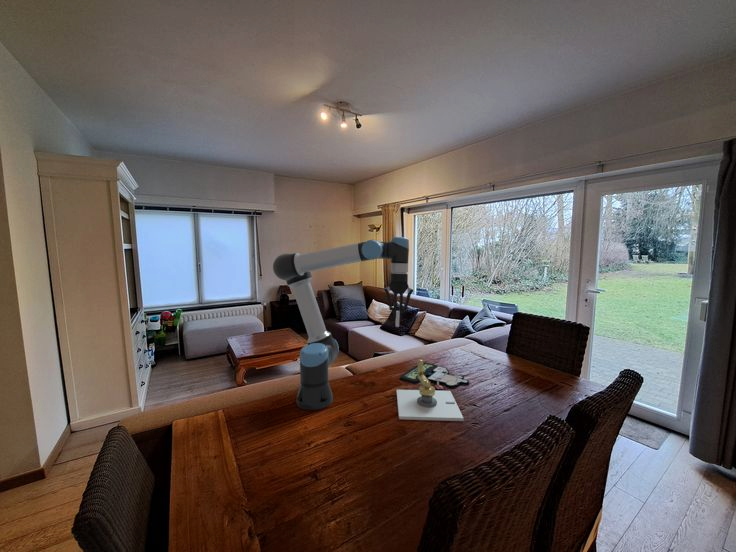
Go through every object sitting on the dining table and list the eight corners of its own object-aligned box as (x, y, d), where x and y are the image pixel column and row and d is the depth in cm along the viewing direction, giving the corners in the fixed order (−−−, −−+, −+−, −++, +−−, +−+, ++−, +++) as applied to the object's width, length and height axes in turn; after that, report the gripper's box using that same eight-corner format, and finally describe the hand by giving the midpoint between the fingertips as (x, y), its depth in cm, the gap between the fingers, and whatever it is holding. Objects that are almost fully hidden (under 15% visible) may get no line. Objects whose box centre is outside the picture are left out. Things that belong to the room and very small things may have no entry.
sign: (422, 361, 168) (476, 374, 150) (422, 364, 168) (476, 377, 150) (397, 377, 147) (456, 394, 129) (397, 380, 147) (456, 398, 129)
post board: (399, 419, 112) (399, 406, 112) (396, 392, 134) (396, 381, 133) (463, 421, 111) (463, 408, 110) (450, 393, 133) (450, 382, 132)
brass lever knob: (437, 395, 119) (437, 370, 118) (422, 397, 118) (422, 371, 117) (426, 382, 132) (426, 358, 131) (412, 383, 131) (412, 359, 130)
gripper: (413, 272, 133) (411, 324, 135) (384, 271, 133) (382, 323, 135) (415, 274, 125) (412, 328, 127) (384, 273, 126) (382, 327, 128)
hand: (397, 325), depth 131 cm, fingers closed
